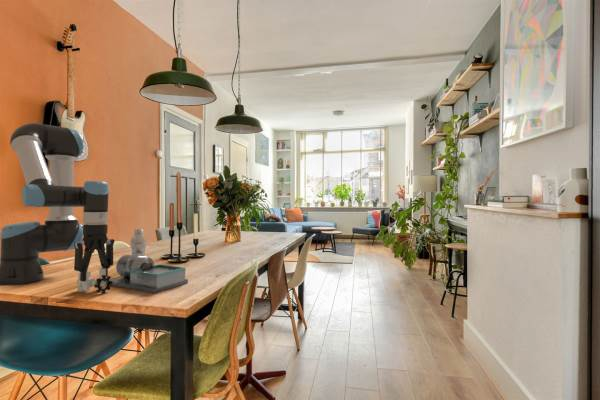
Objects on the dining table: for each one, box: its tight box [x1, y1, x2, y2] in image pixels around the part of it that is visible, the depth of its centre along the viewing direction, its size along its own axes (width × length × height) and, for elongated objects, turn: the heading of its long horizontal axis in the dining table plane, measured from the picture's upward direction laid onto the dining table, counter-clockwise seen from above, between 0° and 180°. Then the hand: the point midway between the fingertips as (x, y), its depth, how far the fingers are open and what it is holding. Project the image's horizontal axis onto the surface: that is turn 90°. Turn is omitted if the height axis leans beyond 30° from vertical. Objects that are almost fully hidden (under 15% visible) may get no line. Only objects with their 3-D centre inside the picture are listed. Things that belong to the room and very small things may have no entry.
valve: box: [76, 271, 113, 295], centre depth 116 cm, size 7×7×12 cm
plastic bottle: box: [130, 228, 147, 257], centre depth 146 cm, size 6×7×20 cm
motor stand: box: [106, 254, 189, 294], centre depth 128 cm, size 26×17×10 cm, turn 66°
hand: (94, 287), depth 116 cm, fingers closed on valve, 5 cm apart
